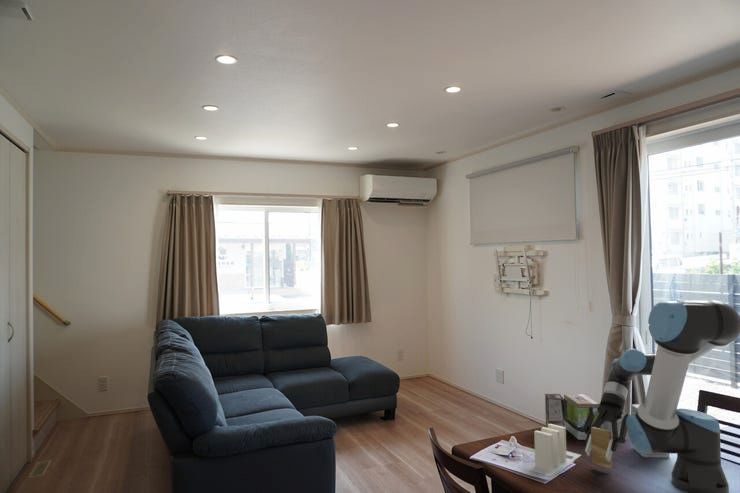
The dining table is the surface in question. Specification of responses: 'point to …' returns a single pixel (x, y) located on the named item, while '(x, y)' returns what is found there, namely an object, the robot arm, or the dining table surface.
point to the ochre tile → (600, 446)
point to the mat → (570, 458)
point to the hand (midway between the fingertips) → (597, 456)
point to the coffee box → (554, 410)
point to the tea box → (578, 413)
